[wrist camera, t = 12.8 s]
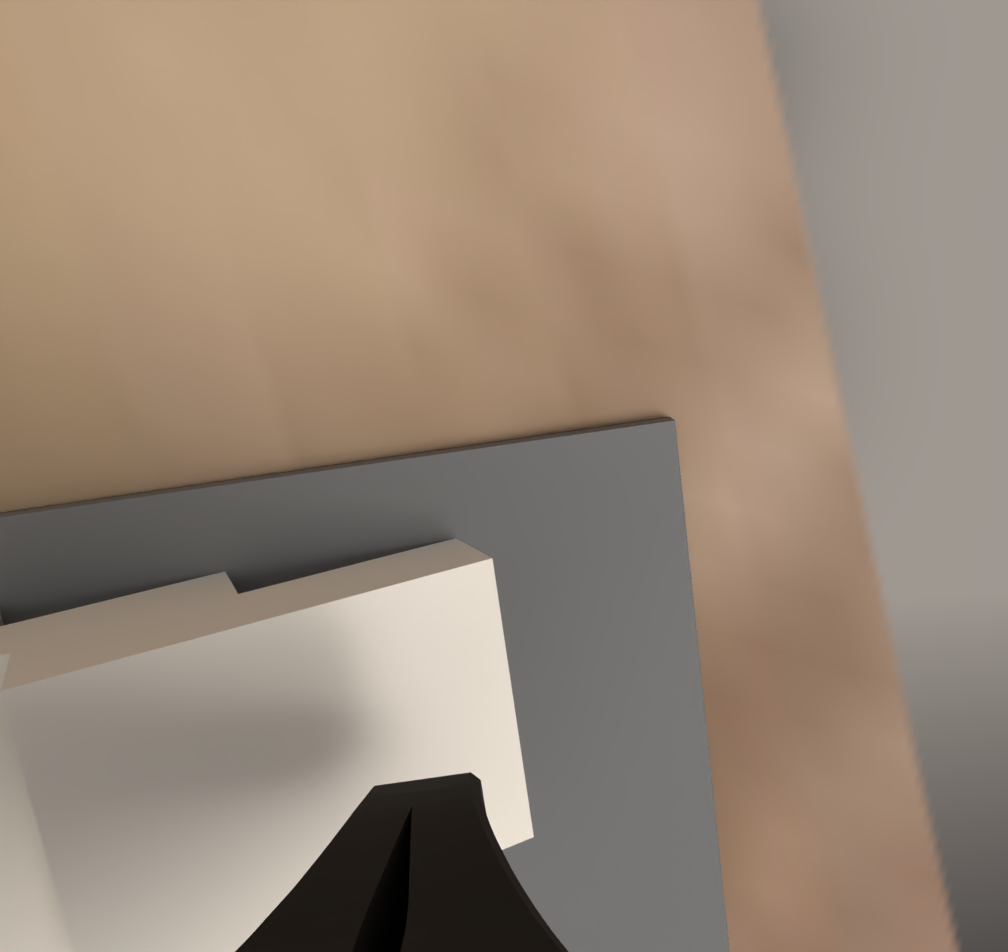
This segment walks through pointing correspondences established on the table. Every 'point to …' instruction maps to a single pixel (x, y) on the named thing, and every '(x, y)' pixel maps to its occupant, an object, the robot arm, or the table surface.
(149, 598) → the tile
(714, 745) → the table surface
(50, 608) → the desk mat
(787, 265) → the table surface
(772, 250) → the table surface
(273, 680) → the tile
